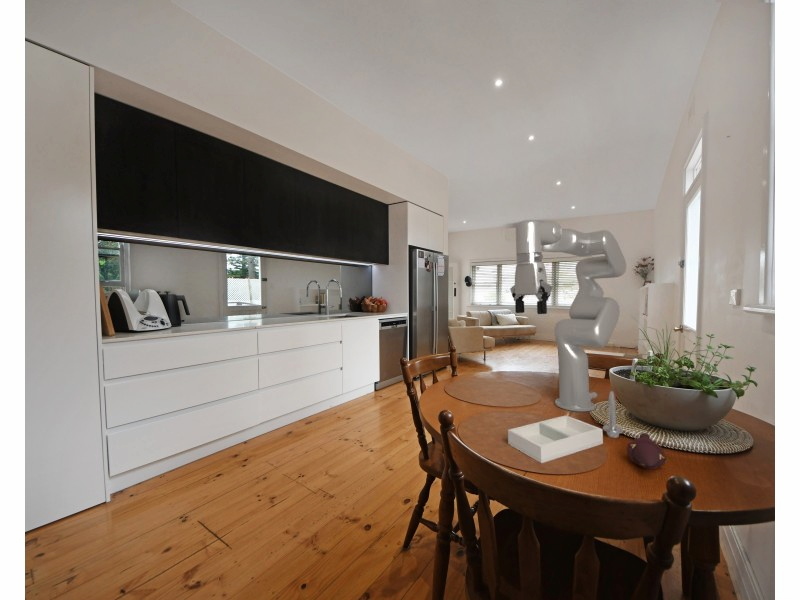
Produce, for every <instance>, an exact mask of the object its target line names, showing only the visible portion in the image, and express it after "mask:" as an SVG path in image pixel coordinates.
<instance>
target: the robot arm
mask: <svg viewBox="0 0 800 600" xmlns="http://www.w3.org/2000/svg"><path fill="white" fill-rule="evenodd" d="M515 252H516V253H515V255H516V265H515V272H514V284H513V285H512V286H511V287H510V293H511V296H512V298H513V301H514V304H515V305H514V306H515V307H514V308H515V314H524V313H525V300H524V298H525V296H535V297H536V298H537V302H536V308H537V309H536V310H537V311H536V312H537V315H546V314H548V310H547V309H548V306H547V305H548V303H547V302H548V301H549V298H550V296H552V295H551V294H552V291H553V285H552V284H549V283H548V277H547V276H548V275H547V271H546V265H545V263H544V262H543V257H544V255H543V254H542V253H543V252H545V253H546V252H548V253H564V254H568V255H572V256H576V257H587V258H583V259H580V260H579V261H577V263H576V265H575V274H576V281H577V283H578V291H577V293H576V295H575V297H574V299H573V301H572V303H571V305H570V306H569V311H568V315H569V318H565V319H560V320H559V321H557V322H556V323H555V325H554V330H553V333H554V339H555V341H556V347H557V357H558V358H557V359H558V387H559V391H558V392H559V398H556V399H555V401H554V404H555V405H556V407H558V408H560V409H563V410H567V411H571V412H590V411H594V409H595V408H596V407H595V404H594V403H593V402H592V400H593V399H595V398H597V397H598V393H596V392H594V391H593V392H590V379H589V376H590V375H589V358H588V355H587V352H586V351H585V350H584V348H583V347H587V348H593V349H594V348H596V349H601V348H605V346H607V345H608V344H609V342H610V340H611V338H612V335H613V333H614V330H615V328H616V326H617V324H618V321H619V317H620V312H621V311H620V305H619V303H618V301H617V300H616V299H614V298H613V297H612V298H611V297H609V296H608V297H607V296H606V297H605V296H604V294H605V293H604V290H603V288H602V287H601V286H600V285H601V284H599V283H598V282H596V280H597V279H611V278H612V279H613V278H620V277H622V276H624V274H625V273H626V270H627V261H626V258H625V256H624V254H623V251H622V249H621V247H620V245H619V242H618V241H617V239H616V237H615V236H614V235H613V234H612V232H610V231H609V230H606V229H605V230H604V229H603V230H598V231H593V232H582V231H579V230H576V229H572V228H562V226H561V225H560V224H559V223H558V222H557V221H553V220H547V221H539V220H536V219H527V220H526V219H525V220H522V221H519V222H517V223H516V224H515ZM596 255H597V256H596ZM598 255H601V256H598ZM589 256H590V257H589ZM591 256H592V257H591Z"/></svg>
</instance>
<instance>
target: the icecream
mask: <svg viewBox="0 0 800 600" xmlns="http://www.w3.org/2000/svg"><path fill="white" fill-rule="evenodd" d="M650 438H651V435H649V433H646V432H641V433H640V435H639V437H637V438H634V439H633V440H632V441H631V442H629V443H628V444H627V447H626V451H627V453H628V457H629V459H630V461H632V462H633V463H635V464H636V465H637V466H639V467H640V468H642V469H647V470H648V469H649V470H652V471H653V470H657V469H659V468H660V467H662V466H664V465H665V464H666V461H667V460H668V458H667V456H666V454H665V452H664V450H663V448H662V447H661V445H659V444H658V443H656V442H655V441H654V440H653V439H650Z"/></svg>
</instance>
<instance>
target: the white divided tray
mask: <svg viewBox="0 0 800 600" xmlns="http://www.w3.org/2000/svg"><path fill="white" fill-rule="evenodd" d="M603 431H604V430H603V428H600V427H597V426H595V425H592V424H590V423H588V422H584V421H582V420H579V419H577V418H574V417H571V416H569V415H562V416H558V417H553V418H548V419H546V420H541V421H538V422H537V421H536V422H534V423H529V424H526V425H525V424H524V425H522V426H518V427H514V428H510V429H507V440H508V441H507V442H508V443H507V444H508V445H509V444H510V445H509V446H510V447H513V448H515V449H516V450H518V451H519V450H520V451H519V452H522V453H523V454H524V455H526V456H528V457H530V458H532V459H533V460H535V461H537V462H538V463H540V464H544V463H547V462H551V461H553V460H557V459H559V458H562V457H566V456H569V455H572V454H575V453H577V452H581V451H584V450H588V449H590V448H594V447H597V446H600V445H603V444H604V441H603V440H604V438H603V437H604V436H603Z"/></svg>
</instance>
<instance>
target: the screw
mask: <svg viewBox="0 0 800 600" xmlns="http://www.w3.org/2000/svg"><path fill="white" fill-rule="evenodd" d="M615 398H616V397H615V393H614V391H613V390H611V391H609V394H608V403H607V404H608V405H607V406H608V407H607V408H608V409H607V410H608V424H605V425H603V426H602V431H605V432H606V436H608V437H609V438H613V439H617V438H619V437H620V436H619V435H620V434H622V433H624V430H623V428H622V427H620V426H618V425H617V415H616V414H617V409H616V408H617V405H616V403H617V402H616V400H615Z"/></svg>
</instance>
